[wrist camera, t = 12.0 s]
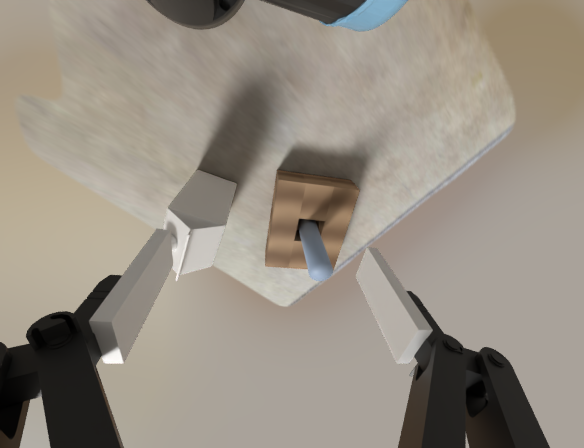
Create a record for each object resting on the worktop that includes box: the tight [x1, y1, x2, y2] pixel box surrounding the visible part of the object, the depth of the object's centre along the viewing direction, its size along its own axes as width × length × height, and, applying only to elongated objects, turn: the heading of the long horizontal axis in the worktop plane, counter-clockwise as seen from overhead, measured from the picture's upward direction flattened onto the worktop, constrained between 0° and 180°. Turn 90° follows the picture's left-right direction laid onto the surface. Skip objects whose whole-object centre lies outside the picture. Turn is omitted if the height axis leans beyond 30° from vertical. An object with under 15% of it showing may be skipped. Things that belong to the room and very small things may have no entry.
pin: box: [298, 218, 333, 281], centre depth 41 cm, size 4×4×15 cm
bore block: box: [265, 170, 360, 270], centre depth 46 cm, size 18×14×5 cm
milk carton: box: [163, 170, 237, 281], centre depth 36 cm, size 7×7×19 cm
